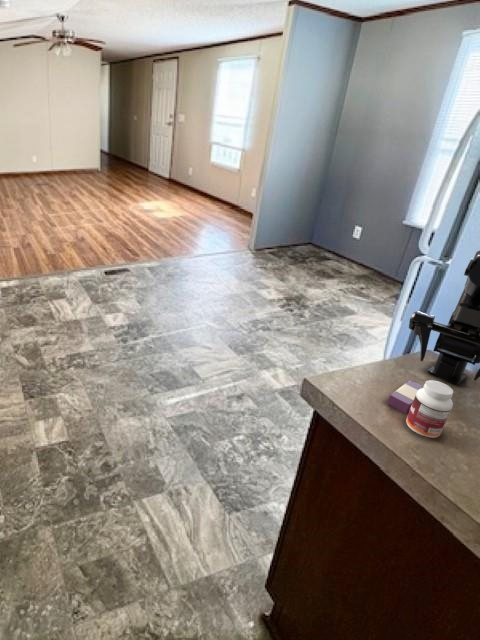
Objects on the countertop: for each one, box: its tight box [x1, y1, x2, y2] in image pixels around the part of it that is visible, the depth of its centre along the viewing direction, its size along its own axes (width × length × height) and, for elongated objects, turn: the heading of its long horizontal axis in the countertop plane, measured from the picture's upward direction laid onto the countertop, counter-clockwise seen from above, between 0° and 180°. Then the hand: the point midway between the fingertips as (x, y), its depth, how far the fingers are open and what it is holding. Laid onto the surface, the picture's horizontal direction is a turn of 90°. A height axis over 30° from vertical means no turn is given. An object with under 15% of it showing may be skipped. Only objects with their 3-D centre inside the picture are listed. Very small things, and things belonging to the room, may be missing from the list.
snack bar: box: [386, 380, 424, 414], centre depth 99 cm, size 10×4×2 cm, turn 123°
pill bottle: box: [405, 379, 454, 439], centre depth 89 cm, size 6×6×11 cm
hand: (447, 370), depth 90 cm, fingers open, 9 cm apart
